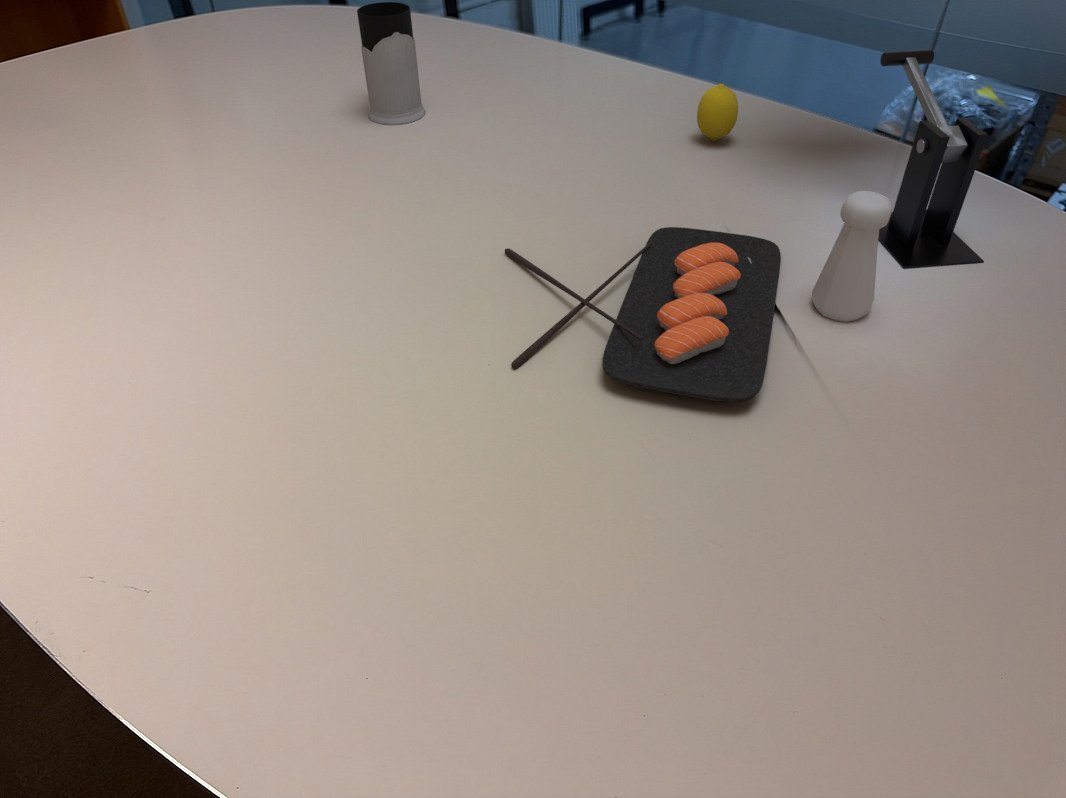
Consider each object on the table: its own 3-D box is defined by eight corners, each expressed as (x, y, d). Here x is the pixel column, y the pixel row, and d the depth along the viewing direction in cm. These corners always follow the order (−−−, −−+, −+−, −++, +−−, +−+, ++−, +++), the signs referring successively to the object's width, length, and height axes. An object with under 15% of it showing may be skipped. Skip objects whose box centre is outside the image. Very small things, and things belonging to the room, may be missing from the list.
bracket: (854, 224, 96) (885, 108, 87) (926, 218, 97) (964, 103, 88) (900, 277, 87) (940, 154, 78) (980, 271, 87) (1029, 148, 79)
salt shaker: (802, 300, 84) (829, 182, 75) (858, 300, 84) (892, 182, 75) (815, 333, 79) (846, 212, 71) (874, 333, 79) (912, 212, 71)
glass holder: (381, 129, 120) (365, 21, 110) (347, 99, 130) (330, -2, 120) (434, 117, 123) (424, 11, 114) (398, 89, 133) (386, -11, 123)
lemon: (741, 142, 114) (750, 85, 109) (713, 152, 112) (720, 94, 107) (714, 130, 118) (721, 74, 113) (685, 139, 115) (692, 82, 110)
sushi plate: (757, 422, 70) (764, 387, 67) (433, 363, 77) (429, 330, 74) (780, 254, 91) (787, 224, 88) (525, 221, 98) (524, 191, 95)
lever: (877, 63, 91) (885, 45, 89) (923, 61, 91) (933, 43, 89) (921, 164, 84) (932, 147, 82) (972, 161, 85) (984, 144, 82)
